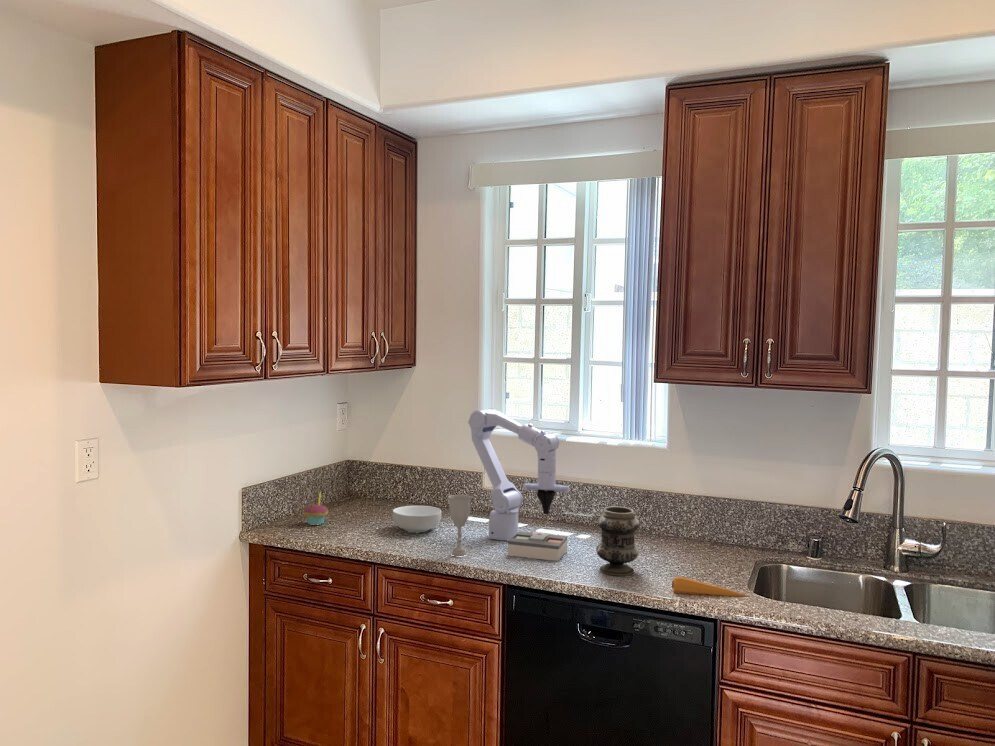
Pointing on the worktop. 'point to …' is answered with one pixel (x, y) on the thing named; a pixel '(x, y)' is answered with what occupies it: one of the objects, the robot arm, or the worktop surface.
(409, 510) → the cereal bowl
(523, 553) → the keypad
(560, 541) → the terracotta key
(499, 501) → the robot arm
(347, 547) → the worktop surface
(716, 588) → the carrot
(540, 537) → the blue key
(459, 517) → the chalice
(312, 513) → the cupcake
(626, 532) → the apothecary jar
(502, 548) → the worktop surface
